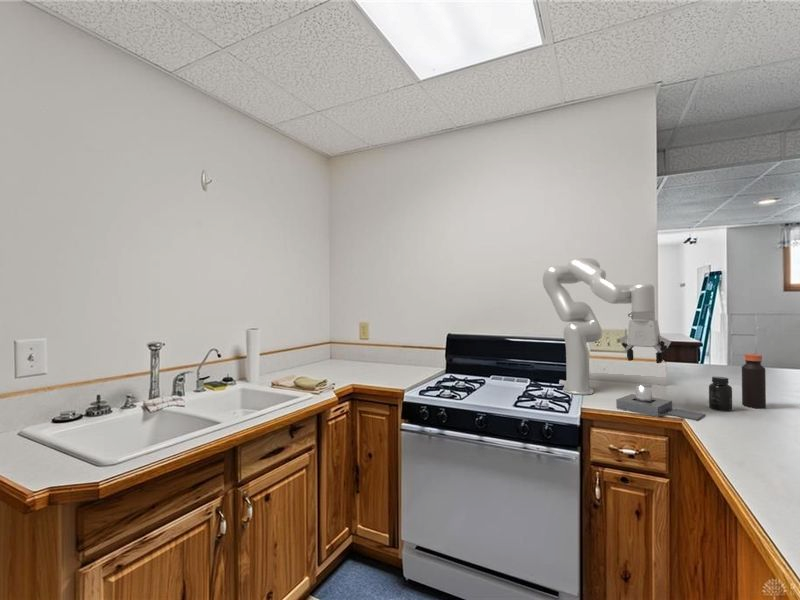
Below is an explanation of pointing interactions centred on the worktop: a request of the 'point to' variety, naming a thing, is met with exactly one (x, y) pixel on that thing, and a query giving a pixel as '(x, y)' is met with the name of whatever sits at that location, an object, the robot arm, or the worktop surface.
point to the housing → (644, 405)
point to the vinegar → (753, 382)
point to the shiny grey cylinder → (644, 393)
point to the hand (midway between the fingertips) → (644, 361)
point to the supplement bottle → (720, 394)
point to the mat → (686, 414)
